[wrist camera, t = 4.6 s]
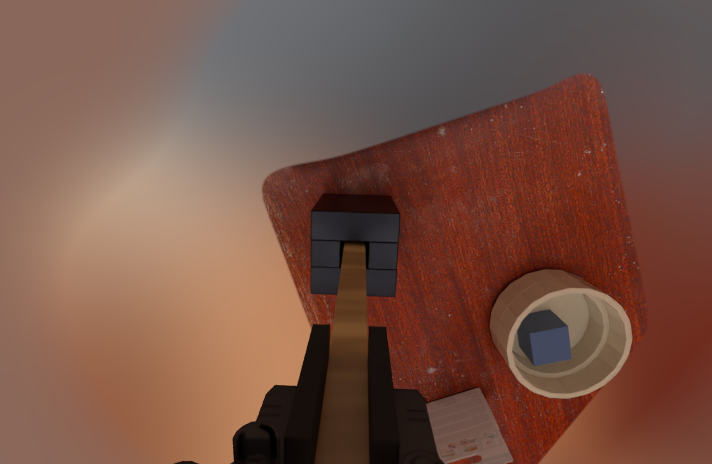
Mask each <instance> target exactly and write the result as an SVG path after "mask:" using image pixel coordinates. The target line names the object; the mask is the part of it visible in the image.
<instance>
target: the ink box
mask: <svg viewBox="0 0 712 464" xmlns="http://www.w3.org/2000/svg"><path fill="white" fill-rule="evenodd" d="M426 406H427V412H428V414H429V419H430V423H431V427H432V431H433V435H434V440H435V444H436V448H437V452H438V455H439V458H440V459H441V460H442V461H443V462H444V464H448V463H450V462H454V461H457V460H460V459H464V458H468V457H471V456H475V455H480V456H481V457H482V459H481V461H480V462H478V463H474V464H506V463H510V462H513V458H512V456H511V454H510V452H509V450H508V448H507V446H506V443H505V441H504V440H503V437H502V436H501V433H500V430H499V427H498V425H497V423H496V420H495V418H494V416H493V414H492V411H491V409H490V407H489V405H488V403H487V401H486V400H485V398H484V396H483V394H482V392H481V390H480V389H479V388H475V389H472V390H469V391H466V392H462V393H459V394H456V395H453V396H449V397H446V398H443V399H440V400H436V401H433V402H430V403H427V404H426Z"/></svg>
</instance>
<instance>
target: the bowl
mask: <svg viewBox="0 0 712 464" xmlns="http://www.w3.org/2000/svg"><path fill="white" fill-rule="evenodd" d="M548 309H550V310H551V311H552V312H553V313H554V314H556V315H557V316H558V317H559V318H560V319H561V320H562V321H563V322H564V323H565V324H567V325H568V329H569V338H570V347H571V356H572V359H570V360H565V361H560V362H555V363H549V364H544V365H539V366H534V365H533V364H532V363H531V361H530V360H529V359H528V358H527V356H526V355H525V354H524V352H523V351H522V350H521V348H520V347H519V342H518V335H517V330H518V328H519V326H520V324H521V322H522V320H523V319H524V318H525V317H526V316H527V315H528V314H529V313H534V312H538V311H543V310H548ZM490 331H491V336H492V340H493V343H494V344H495V346H496V347H497V349H498V350H499V352H500V353H501V355H502V356H503V358H504V360H505V361H506V363H507V364H508V366H509V367H510V369H511V370H512V372H513V373H514V375H515V376H516V378H517V380H518V381H519V382H520V383H521V384H523V385H524V386H525V387H527V388H528V389H529V390H531V391H532V392H534V393H537V394H540V395H543V396H546V397H549V398H573V397H577V396H581V395H586V394H589V393H590V392H592V391H594V390H596V389H598V388H600V387H602V386H604V385H605V384H606V383H607V382H608V381H609V380H611V379H612V378H613V377H614V376H615V375H616V374H617V373H618V372H619V371H620V369H621V368H622V366H623V364H624V363H625V361H626V359H627V358H628V356H629V351H630V347H631V343H632V332H631V324H630V320H629V319H628V317H627V315H626V313H625V311H624V309H623V308H622V306H621V305H619V304H618V303H617V302H616V301H615V300H613V299H612V298H611V297H610V296H609V295H607V294H606V293H604V292H602V291H601V290H599V289H598V288H596V287H595V286H593V285H591V284H590V283H588V282H587V281H585V280H584V279H582V278H580V277H579V276H577V275H574V274H572V273H569V272H566V271H563V270H548V269H544V270H540V271H536V272H532V273H529V274H526V275H524V276H522V277H520V278H519V279H517V280H515V281H514V282H512V283H510V284H509V285H508V287H507V288H506V289H505V290H504V291H503V292H502V293H501V294H500V295H499V297H498V299H497V301H496V303H495V305H494V307H493V309H492V311H491V319H490Z"/></svg>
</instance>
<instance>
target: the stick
mask: <svg viewBox="0 0 712 464" xmlns="http://www.w3.org/2000/svg"><path fill="white" fill-rule="evenodd" d="M314 464H370V456H369V404H368V335H367V292H366V250H365V242H363V241H345V243H344V250H343V257H342V265H341V272H340V279H339V286H338V293H337V300H336V307H335V314H334V321H333V328H332V335H331V343H330V350H329V362H328V369H327V376H326V384H325V391H324V398H323V405H322V412H321V420H320V427H319V434H318V441H317V448H316V455H315V463H314Z"/></svg>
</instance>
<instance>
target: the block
mask: <svg viewBox="0 0 712 464" xmlns="http://www.w3.org/2000/svg"><path fill="white" fill-rule="evenodd" d="M517 335H518V342H519V347H520V348H521V350H522V351H523V352H524V354H525V355H526V356H527V358H528V359H529V360H530V361H531V363H532V364H533V365H534V366H539V365H544V364H549V363H555V362H560V361H565V360H570V359H572V356H571V347H570V338H569V329H568V325H567V324H565V323H564V322H563V321H562V320H561V319H560V318H559V317H558V316H557V315H556V314H554V313H553V312H552V311H551V310H550V309H548V310H543V311H538V312H534V313H529V314H528V315H527V316H526V317H525V318H524V319H523V320H522V322H521V324H520V326H519V328H518V330H517Z"/></svg>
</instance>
